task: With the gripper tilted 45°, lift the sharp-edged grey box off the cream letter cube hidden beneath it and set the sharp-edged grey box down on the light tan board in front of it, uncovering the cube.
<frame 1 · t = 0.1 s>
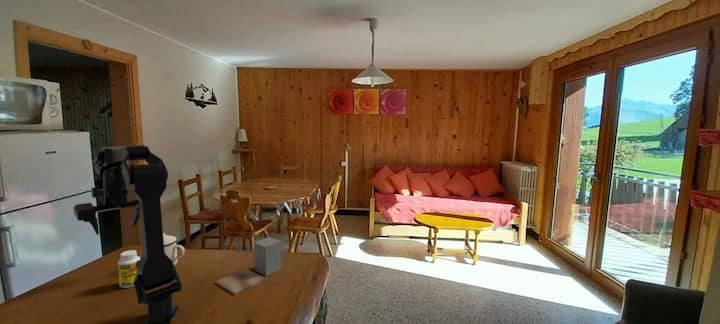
hand: (115, 230, 98), 15 cm above the table, tool pointing down, fingers open, 9 cm apart
teacup with lid: (167, 265, 108), on the table
supplement bottle: (130, 284, 95), on the table
light tan board: (240, 281, 97), on the table
letter cube: (268, 264, 106), in the sharp-edged grey box
sharp-edged grey box: (268, 269, 106), on the table
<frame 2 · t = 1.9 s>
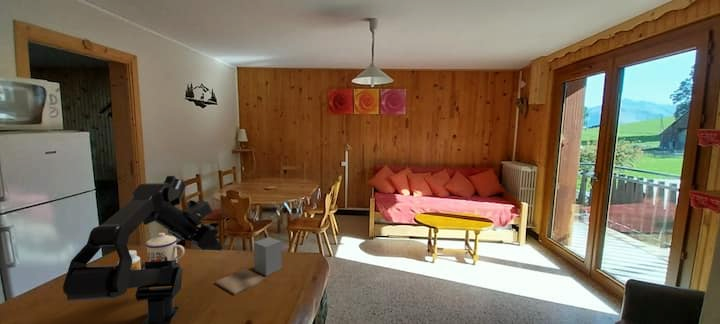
hand: (213, 245, 92), 14 cm above the table, tool tilted 45°, fingers open, 9 cm apart
nothing on the table moved.
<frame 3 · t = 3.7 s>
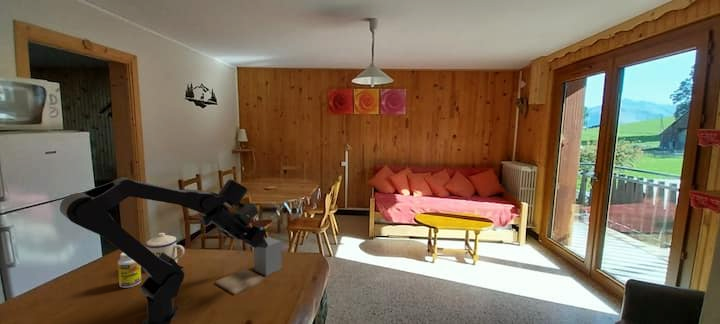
hand: (258, 242, 101), 11 cm above the table, tool tilted 45°, fingers open, 9 cm apart
nothing on the table moved.
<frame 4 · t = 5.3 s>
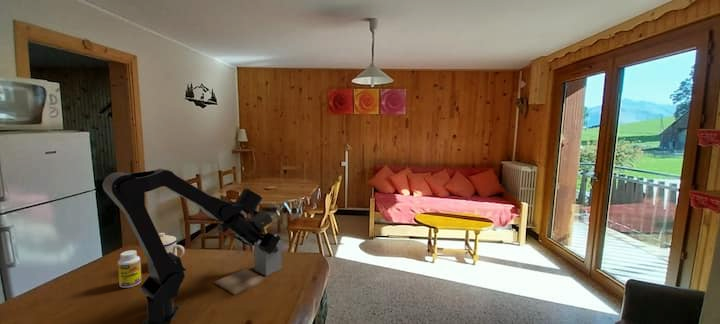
hand: (271, 248, 106), 7 cm above the table, tool tilted 45°, fingers closed on sharp-edged grey box, 6 cm apart
sharp-edged grey box: (268, 269, 106), on the table, touching gripper
everything else where it was.
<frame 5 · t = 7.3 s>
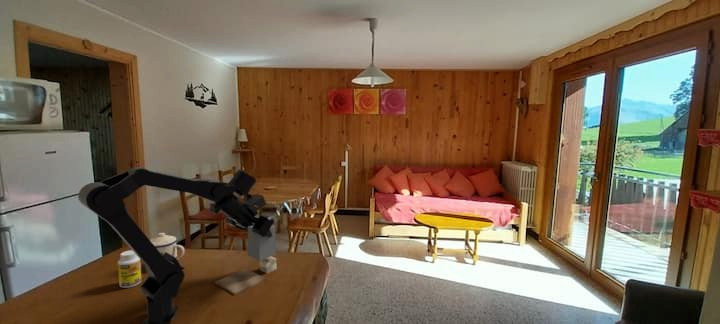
hand: (265, 233, 103), 13 cm above the table, tool tilted 45°, fingers closed on sharp-edged grey box, 6 cm apart
sharp-edged grey box: (261, 255, 103), point 6 cm above the table, touching gripper
everything else where it was.
when the fingers open (9 cm above the table, at t = 9.5 s): sharp-edged grey box drops 1 cm, resting on light tan board.
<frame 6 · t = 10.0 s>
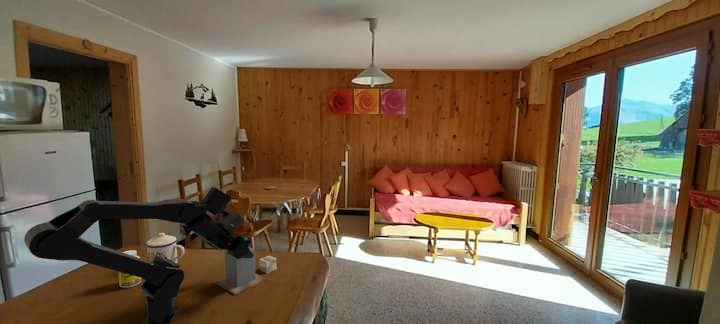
hand: (243, 252, 97), 9 cm above the table, tool tilted 45°, fingers open, 9 cm apart
sharp-edged grey box: (240, 279, 97), point 1 cm above the table, touching light tan board
everything else where it was.
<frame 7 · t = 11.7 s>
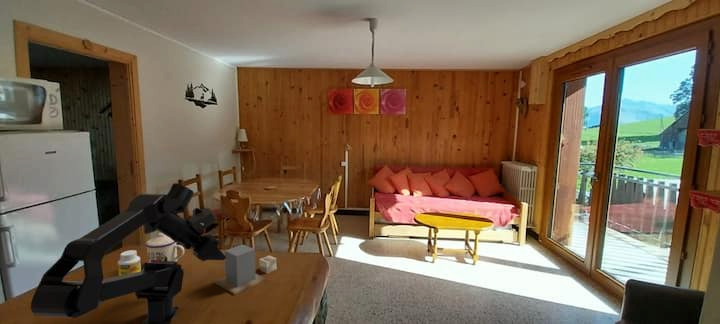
hand: (218, 253, 91), 11 cm above the table, tool tilted 45°, fingers open, 9 cm apart
nothing on the table moved.
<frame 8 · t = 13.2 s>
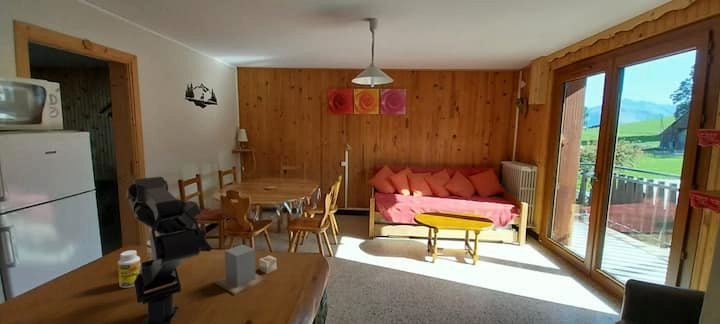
hand: (202, 245, 91), 14 cm above the table, tool tilted 45°, fingers open, 9 cm apart
nothing on the table moved.
at the end: sharp-edged grey box 0.0 cm off-centre on the light tan board, point 0.6 cm above the light tan board's base; sharp-edged grey box tilted 0°; the gripper is holding nothing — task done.
